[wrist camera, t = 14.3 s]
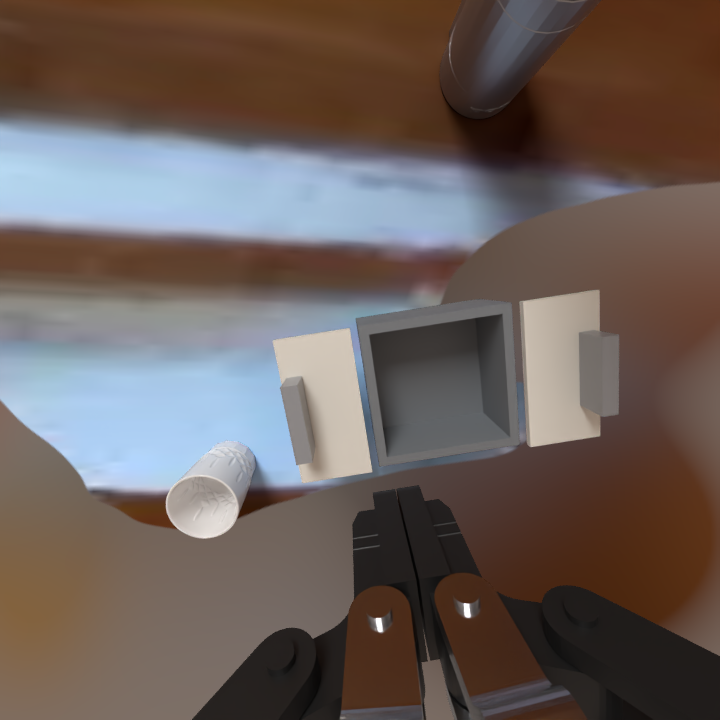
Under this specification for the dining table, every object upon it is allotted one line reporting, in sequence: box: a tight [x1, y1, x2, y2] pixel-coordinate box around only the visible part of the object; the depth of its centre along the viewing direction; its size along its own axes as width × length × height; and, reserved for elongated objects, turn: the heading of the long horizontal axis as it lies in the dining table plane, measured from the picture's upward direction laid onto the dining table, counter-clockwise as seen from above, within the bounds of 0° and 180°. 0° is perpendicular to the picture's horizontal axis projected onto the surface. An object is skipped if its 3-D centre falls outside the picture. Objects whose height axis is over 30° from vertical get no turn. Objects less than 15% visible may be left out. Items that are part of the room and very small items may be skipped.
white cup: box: [166, 440, 256, 538], centre depth 43 cm, size 8×8×10 cm
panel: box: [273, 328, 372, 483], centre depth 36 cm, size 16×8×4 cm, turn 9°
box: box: [356, 299, 520, 467], centre depth 42 cm, size 16×16×9 cm
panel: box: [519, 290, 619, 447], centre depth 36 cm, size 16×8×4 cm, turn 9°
